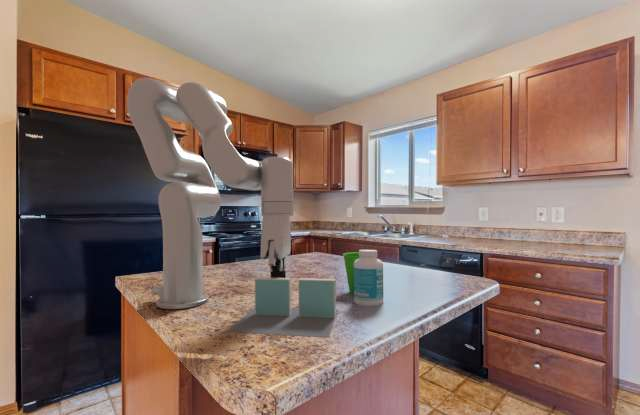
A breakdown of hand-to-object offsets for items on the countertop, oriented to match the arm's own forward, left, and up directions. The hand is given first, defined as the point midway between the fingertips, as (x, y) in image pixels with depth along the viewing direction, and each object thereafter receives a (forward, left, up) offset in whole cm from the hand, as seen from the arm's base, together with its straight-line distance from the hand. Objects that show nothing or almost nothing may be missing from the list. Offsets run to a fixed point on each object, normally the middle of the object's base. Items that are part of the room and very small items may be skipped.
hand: (278, 287), depth 73 cm
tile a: (0, -4, -5) cm, 6 cm away
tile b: (+10, -4, -5) cm, 12 cm away
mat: (+4, -7, -6) cm, 10 cm away
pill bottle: (+21, +9, -6) cm, 24 cm away
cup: (+18, +20, -6) cm, 28 cm away
